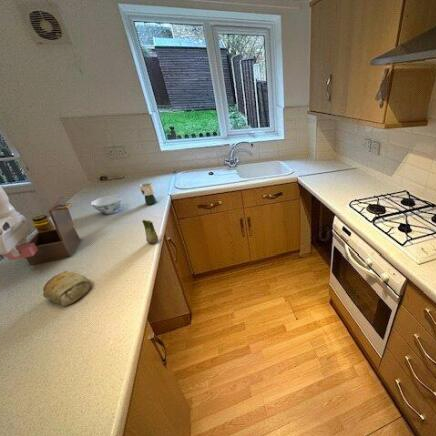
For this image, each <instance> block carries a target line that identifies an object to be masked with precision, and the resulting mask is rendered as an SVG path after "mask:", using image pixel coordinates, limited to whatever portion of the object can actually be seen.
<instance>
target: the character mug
mask: <svg viewBox="0 0 436 436" xmlns="http://www.w3.org/2000/svg"><path fill="white" fill-rule="evenodd" d="M139 189H140V193H141V195H142V196H144V200H145V204H146V205H153V204H155V203H157V199H156V197H155V195H154V194H155V189H154V186H153V183H152V182H145V183H141V184H139Z"/></svg>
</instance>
